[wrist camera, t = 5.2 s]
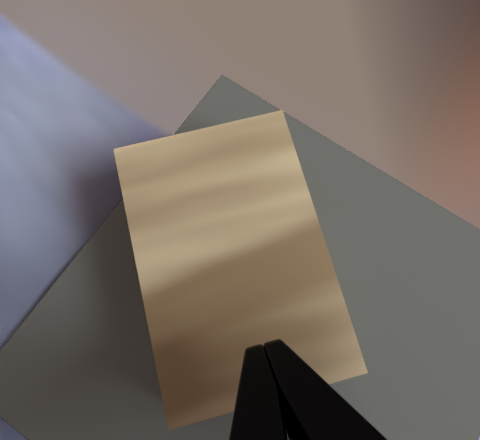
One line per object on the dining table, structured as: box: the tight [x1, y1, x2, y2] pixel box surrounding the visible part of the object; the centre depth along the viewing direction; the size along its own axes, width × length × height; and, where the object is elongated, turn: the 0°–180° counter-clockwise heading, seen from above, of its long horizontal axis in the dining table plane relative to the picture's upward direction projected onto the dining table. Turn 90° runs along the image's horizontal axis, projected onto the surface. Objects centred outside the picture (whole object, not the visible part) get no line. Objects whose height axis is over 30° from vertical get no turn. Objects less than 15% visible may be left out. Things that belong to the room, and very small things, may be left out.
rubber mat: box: [0, 75, 480, 440], centre depth 16 cm, size 16×16×1 cm
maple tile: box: [113, 110, 368, 430], centre depth 15 cm, size 3×6×9 cm
